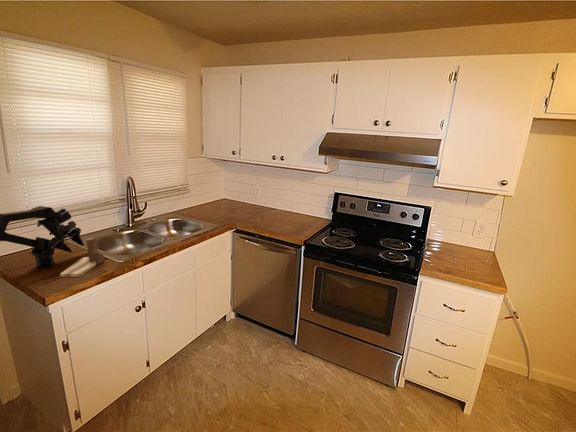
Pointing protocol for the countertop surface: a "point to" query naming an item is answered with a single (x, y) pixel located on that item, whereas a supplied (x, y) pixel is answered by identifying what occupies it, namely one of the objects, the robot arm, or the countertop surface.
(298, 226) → the countertop surface
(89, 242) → the marking gauge
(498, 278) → the countertop surface
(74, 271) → the birch board
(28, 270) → the countertop surface
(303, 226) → the countertop surface
